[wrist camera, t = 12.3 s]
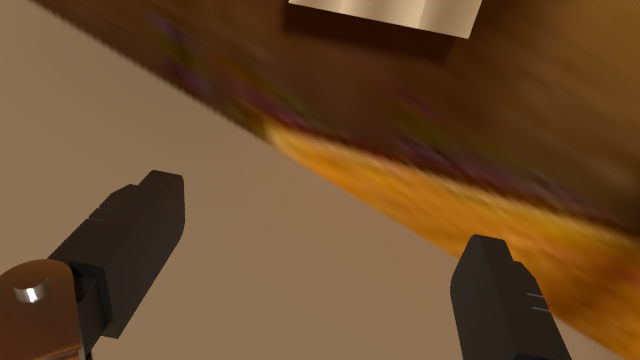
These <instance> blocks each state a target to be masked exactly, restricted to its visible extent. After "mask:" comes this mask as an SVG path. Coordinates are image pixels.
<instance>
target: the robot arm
mask: <svg viewBox="0 0 640 360" xmlns="http://www.w3.org/2000/svg"><path fill="white" fill-rule="evenodd" d="M184 224H185V203H184V181H183V177H182V176H181V175H177V174H172V173H167V172H162V171H156V170H152V171H151V172H150V173H149V174H148V175H147V176H146V177H145V178H144V179H143V180H142V181H141V182H140V184H139V185H138V186H137V185H132V184H129V185H127V186H125V187H123V188H121V189H119V190H117V191H115V192H113V193H111V194H110V195H109V196H108V197H107V199H105V201H104V202H103V203H102V204H101V205H100V206H99V208H97V209H96V210H95V211H94V212H93V213H92V214H91V215H90V216H89V219H86V220H85V221H84V222H83V223H82V224H81V225H80V226H79V227H78V228H77V229H76V230H75V231H74V232H73V233H72V234H71V235H70V236H69V237H68V238H67V239H66V240H65V241H64V242H63V243H62V244H61V245H60V246H59V247H58V248H57V249H56V250H55V251H54V252H53V253H52V254H51V255H50V256H49V257H48V258H47V259H39V260H33V261H29V262H25V263H22V264H19V265H17V266H15V267H13V268H11V269H9V270H7V271H6V272H4V273H3V274H2V275H0V360H93V353H92V348H93V346H94V345H95V343H96V342H97V340H98V339H99V337H100V336H105V337H111V338H116V339H118V338H119V336H120V335H121V333H122V332H123V330H124V328H125V327H126V325H127V323H128V322H129V320H130V319H131V317H132V316H133V314H134V312H135V311H136V309H137V307H138V306H139V304H140V303H141V301H142V300H143V298H144V296H145V295H146V293H147V292H148V290H149V288H150V287H151V285H152V284H153V282H154V280H155V279H156V277H157V276H158V274H159V272H160V271H161V269H162V268H163V266H164V264H165V263H166V261H167V260H168V258H169V256H170V255H171V253H172V252H173V250H174V248H175V247H176V245H177V244H178V242H179V240H180V238H181V236H182V233H183V229H184ZM450 294H451V301H452V305H453V311H454V315H455V320H456V325H457V330H458V335H459V340H460V345H461V350H462V355H463V360H572V359H571V357H570V355H569V352H568V350H567V348H566V346H565V344H564V341H563V339H562V337H561V335H560V332H559V330H558V328H557V326H556V324H555V321H554V319H553V317H552V315H551V313H549V311H548V310H549V308H548V306H547V304H546V301H545V299H544V298H542V293H541V290H540V288H539V286H538V284H537V282H536V279H535V278H534V277H533V275H532V274H531V273H530V272H529V271H528V270H527V269H526V268H525V267H524V265H523V264H522V263H521V262H517V261H513V259H512V256H511V254H510V251H509V249H508V247H507V244H506V242H505V241H504V240H502V239H497V238H492V237H487V236H482V235H477V234H474V235H473V236H472V237H471V238H470V240H469V241H468V244H467V246H466V248H465V250H464V252H463V254H462V256H461V258H460V260H459V262H458V265H457V267H456V269H455V271H454V273H453V276H452V279H451V287H450Z"/></svg>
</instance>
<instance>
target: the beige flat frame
mask: <svg viewBox="0 0 640 360" xmlns="http://www.w3.org/2000/svg"><path fill="white" fill-rule="evenodd" d="M481 2H482V0H289V3H293V4H298V5H303V6H308V7H313V8H317V9H322V10H327V11H332V12H337V13H342V14H347V15H352V16H357V17H362V18H367V19H372V20H377V21H382V22H387V23H392V24H397V25H402V26H407V27H412V28H417V29H422V30H427V31H432V32H437V33H442V34H447V35H452V36H457V37H462V38H467V39H468V38H469V35H470V32H471V30H472V27H473V24H474V21H475V19H476V16H477V13H478V10H479V7H480V5H481Z"/></svg>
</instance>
